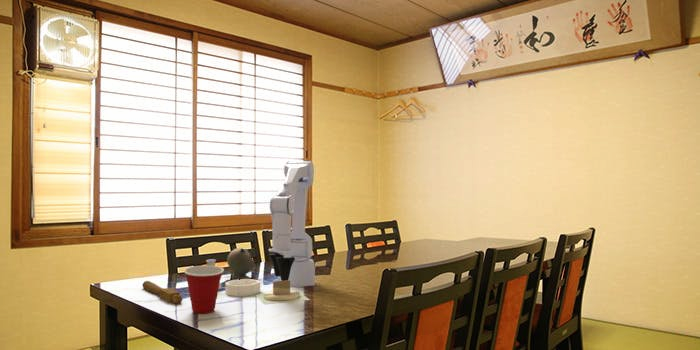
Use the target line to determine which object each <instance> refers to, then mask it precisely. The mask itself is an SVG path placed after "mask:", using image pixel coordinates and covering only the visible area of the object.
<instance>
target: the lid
mask: <svg viewBox="0 0 700 350" xmlns="http://www.w3.org/2000/svg"><path fill="white" fill-rule="evenodd" d="M298 291H299V290H292V289H291V287H290V280H284V281H282V280H281V279H280V280H273V281H272V290H270V291H266V292H263V293H264V299H266V300H269V301H289V300H294V299H297V298H299V297H300V293H301V292H300V291H299V292H300V293H299V292H298Z"/></svg>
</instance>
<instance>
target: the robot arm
mask: <svg viewBox="0 0 700 350" xmlns="http://www.w3.org/2000/svg"><path fill="white" fill-rule="evenodd" d="M283 167H284V168H283V172H284V173H283V174H284V177H285V181H284V182H282V183H281V184H280V185H279V188H278V191H277V193H276V195H275V196H273V197H272V198H270V201H269V212H270V219H271V221H272V243H271V244H272V248H268V252H270V254H268V256H269V258H270V261H271V263H272V267H273V273H274V276H275V277H280V281H281V280H282V281H284V280H290V288H300V287H308V286H309V287H310V286H312V287H313V286H316V274H315V273H316V265H315V262H314V259H312V255H313V239H312V237H311V236H310V235H309V234H308V233H306V221H307V220H306V219H307V218H306V217H307V216H306V215H307V204H308V203H307V201H308V193H309V188H310V187H311V186H313V185H314V184H313V183H314V177H315V176H314V174H315V166H314V162H313V161H312V160H309V161H307V160H304V161H303V160H302V161H301V160H300V161H293V160H292V161H289V160H287V161H285V163H284V166H283Z"/></svg>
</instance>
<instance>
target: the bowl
mask: <svg viewBox="0 0 700 350" xmlns="http://www.w3.org/2000/svg"><path fill="white" fill-rule="evenodd" d="M224 283H225V285H224V286H225V288H224V289H225V294H226V295H227V296H233V297H234V296H235V297H243V296H253V295H254V296H255V294H260V293H261V282H260V280H259V279H252V278H251V279H250V278H247V279H240V280H239V279H232V280H228V281H226V282H224Z"/></svg>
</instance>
